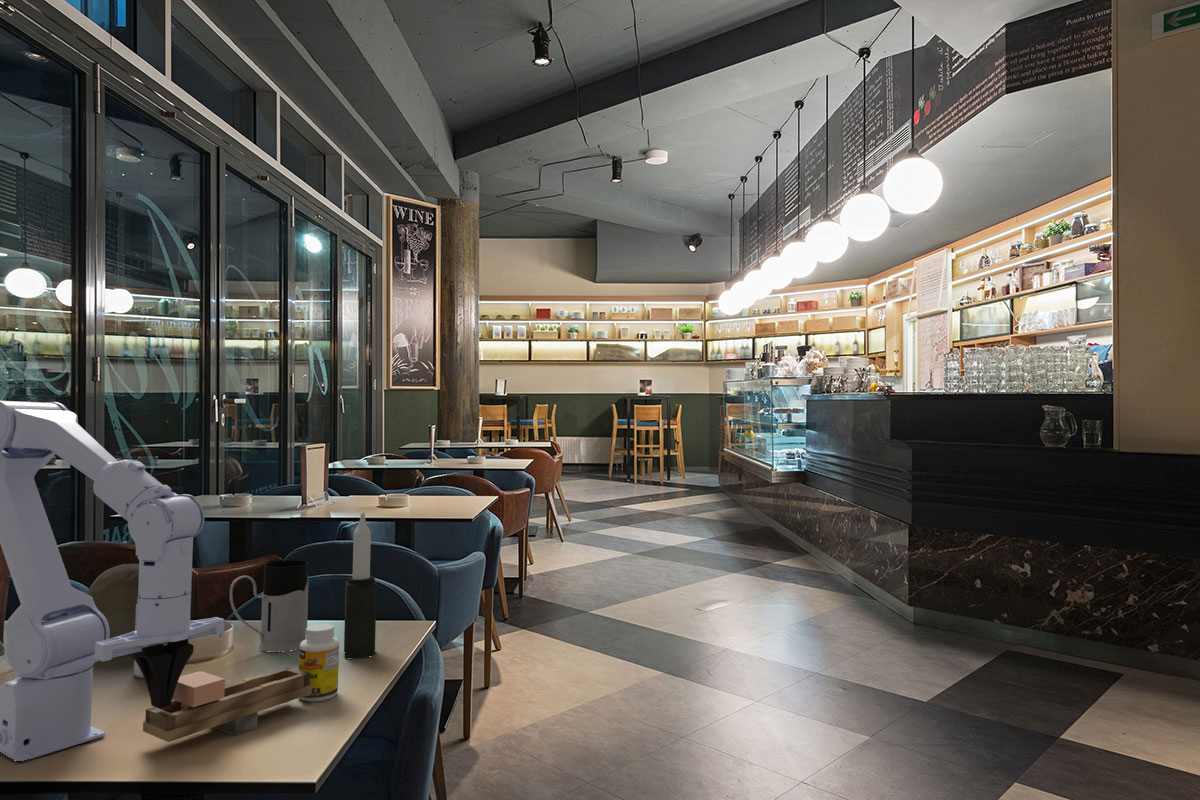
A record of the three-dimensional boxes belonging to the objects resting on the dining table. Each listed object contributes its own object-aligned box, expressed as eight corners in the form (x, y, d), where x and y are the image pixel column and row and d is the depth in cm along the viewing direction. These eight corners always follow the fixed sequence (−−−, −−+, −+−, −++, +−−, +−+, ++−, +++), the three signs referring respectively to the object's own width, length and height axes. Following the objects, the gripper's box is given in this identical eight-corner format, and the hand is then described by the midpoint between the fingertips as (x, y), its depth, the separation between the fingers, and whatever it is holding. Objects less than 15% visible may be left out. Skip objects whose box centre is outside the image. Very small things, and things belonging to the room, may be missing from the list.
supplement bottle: (289, 698, 110) (291, 628, 110) (320, 687, 115) (322, 620, 115) (315, 705, 107) (317, 634, 108) (345, 694, 112) (347, 625, 112)
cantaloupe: (165, 655, 130) (168, 569, 131) (69, 663, 125) (73, 573, 125) (178, 634, 143) (181, 556, 144) (92, 641, 138) (95, 560, 139)
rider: (192, 721, 92) (194, 687, 92) (168, 711, 95) (169, 679, 95) (223, 711, 95) (224, 678, 96) (199, 702, 98) (200, 670, 99)
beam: (168, 759, 89) (170, 718, 89) (141, 747, 93) (142, 707, 93) (312, 708, 106) (313, 673, 106) (284, 699, 110) (285, 665, 110)
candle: (375, 656, 131) (378, 513, 132) (344, 659, 129) (348, 514, 130) (373, 648, 135) (376, 510, 136) (343, 651, 133) (347, 511, 134)
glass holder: (317, 645, 137) (320, 563, 137) (237, 662, 126) (240, 573, 127) (296, 636, 143) (299, 557, 143) (218, 651, 132) (221, 567, 133)
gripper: (117, 610, 84) (112, 732, 83) (238, 588, 96) (235, 694, 96) (88, 601, 88) (83, 718, 87) (208, 581, 100) (205, 684, 99)
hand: (161, 705), depth 92 cm, fingers closed
